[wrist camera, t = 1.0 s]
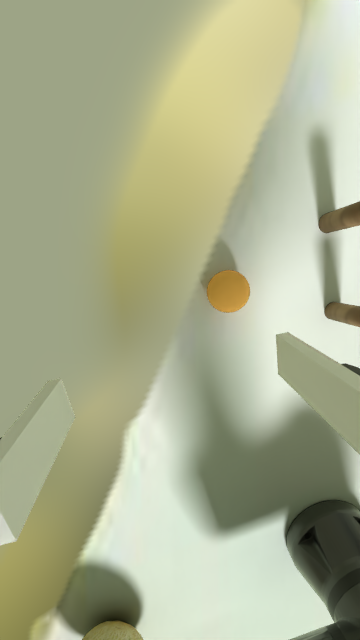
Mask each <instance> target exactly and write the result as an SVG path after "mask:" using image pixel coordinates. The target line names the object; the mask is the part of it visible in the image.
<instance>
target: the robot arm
mask: <svg viewBox="0 0 360 640" xmlns="http://www.w3.org/2000/svg"><path fill="white" fill-rule="evenodd" d="M276 344H277V362H278V374H279V375H280V376H281V377H282V378H283V379H284V380H285V381H286V382H287V383H288V384H289V385H290V386H291V387H292V388H293V389H294V390H295V391H296V392H297V393H298V394H299V395H300V396H301V397H302V398H303V399H304V400H305V401H306V402H307V403H308V404H309V405H310V406H311V407H312V408H313V409H314V410H315V411H316V412H317V413H318V414H319V415H320V416H321V417H322V418H323V419H324V420H325V421H326V422H327V423H328V424H329V425H330V426H331V427H332V428H333V429H334V430H335V431H336V432H337V433H338V434H339V435H340V436H341V437H342V438H343V439H344V440H345V441H347V442H348V443H349V444H350V445H351V446H352V447H353V448H354V449H355V450H356V451H357V452H358V453H359V454H360V369H359V368H358V367H355V366H351V365H348V364H339V363H338V362H336V361H334V360H333V359H331V358H329V357H328V356H326V355H325V354H323V353H321V352H320V351H318V350H316V349H315V348H313V347H311V346H310V345H308V344H306V343H305V342H303V341H301V340H300V339H298V338H296V337H295V336H293V335H291V334H290V333H288V332H287V333H282V334H277V335H276ZM74 419H75V415H74V412H73V410H72V407H71V404H70V401H69V398H68V396H67V393H66V390H65V387H64V384H63V382H62V379H61V378H60V379H56V380H51V381H48V382H47V383H46V384H45V386H44V387H43V388H42V389H41V391H40V392H39V393H38V394H37V395H36V397H35V398H34V399H33V400H32V401H31V403H30V404H29V405H28V406H27V408H26V409H25V410H24V411H23V413H22V414H21V415H20V416H19V417H18V419H17V420H16V421H15V422H14V424H13V425H12V426H11V427H10V428H9V430H8V431H7V432H6V433H5V435H4V436H3V437H1V438H0V545H2V544H6V543H11V542H15V541H17V539H18V537H19V535H20V532H21V530H22V528H23V526H24V524H25V522H26V520H27V518H28V516H29V513H30V511H31V509H32V507H33V505H34V503H35V501H36V499H37V497H38V494H39V492H40V490H41V488H42V486H43V484H44V482H45V480H46V478H47V476H48V473H49V471H50V469H51V467H52V465H53V463H54V460H55V459H56V457H57V454H58V452H59V450H60V448H61V446H62V444H63V442H64V440H65V438H66V435H67V433H68V431H69V429H70V427H71V425H72V423H73V421H74ZM287 548H288V551H289V553H290V555H291V558H292V560H293V562H294V564H295V566H296V568H297V569H298V570H299V572H300V573H301V574H302V576H303V577H304V578H305V579H306V581H307V582H308V583H309V584H310V586H311V587H312V588H313V590H314V591H315V592H316V593H317V595H318V596H319V597H320V598H321V600H322V601H323V602H324V604H325V605H326V607H327V609H328V611H329V613H330V615H331V617H332V619H333V621H334V623H333V624H331V625H328V626H325V627H322V628H319V629H317V630H314V631H311V632H309V633H306V634H303V635H301V636H298V637H295V638H293V639H290V640H360V511H359V510H358V509H357V508H356V507H355V506H353V505H352V504H350V503H347V502H343V501H325V502H321V503H318V504H315V505H313V506H311V507H309V508H308V509H306V510H305V511H303V512H302V513H301V514H300V515H299V516H298V517H297V518H296V519H295V520H294V521H293V523H292V524H291V526H290V528H289V531H288V534H287Z"/></svg>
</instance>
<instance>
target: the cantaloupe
mask: <svg viewBox="0 0 360 640" xmlns="http://www.w3.org/2000/svg"><path fill="white" fill-rule="evenodd" d="M82 640H143V638H142V637H141V635H140V634H139V633H138V631H137V630H136V629H135V627H133V626H132V625H130V624H127V623H124V622H122V621H119V620H118V621H106V622H103V623H101V624H99V625H97V626H96V627H94V628H92V629H91V630H90V631H89V632H88V633H87V634H86V635H85V636H84V638H83V639H82Z"/></svg>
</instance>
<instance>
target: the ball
mask: <svg viewBox="0 0 360 640" xmlns="http://www.w3.org/2000/svg"><path fill="white" fill-rule="evenodd" d="M249 295H250V287H249V283H248V281H247V280H246V278H245V277H244V276H243V275H242V274H240V273H239V272H236V271H232V270H225V271H222V272H219V273H217V274H216V275H215V276H214V277H213V278H212V279H211V280H210V282H209V284H208V287H207V296H208V300H209V302H210V303H211V305H212V306H213V307H214V308H215V309H217V310H219V311H221V312H226V313H229V312H235V311H237V310H239V309H241V308H242V307H243V306H244V305H245V304H246V302H247V301H248V298H249Z"/></svg>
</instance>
